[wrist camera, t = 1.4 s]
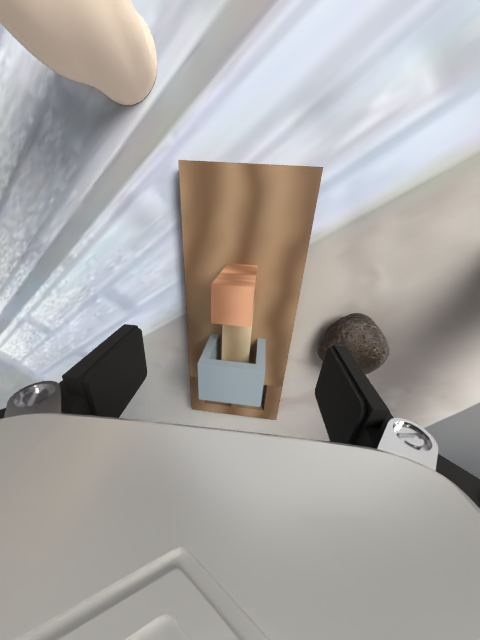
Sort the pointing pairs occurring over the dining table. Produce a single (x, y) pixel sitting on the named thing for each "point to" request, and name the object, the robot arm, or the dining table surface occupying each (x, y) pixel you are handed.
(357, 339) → the stone
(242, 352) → the l-shaped wooden block
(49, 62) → the water bottle
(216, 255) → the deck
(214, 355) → the tunnel
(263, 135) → the dining table surface
